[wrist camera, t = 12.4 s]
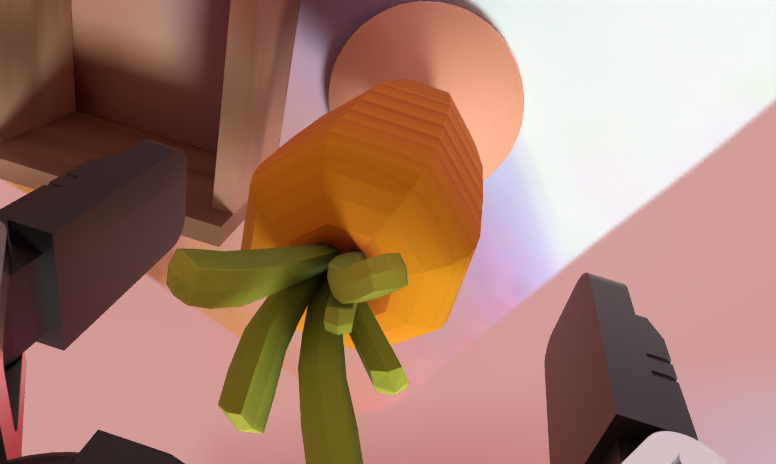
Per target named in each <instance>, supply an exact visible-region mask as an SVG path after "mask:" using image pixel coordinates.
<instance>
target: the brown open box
mask: <svg viewBox="0 0 776 464" xmlns="http://www.w3.org/2000/svg"><path fill="white" fill-rule="evenodd" d="M299 6H300V0H231V2H230V13H229V24H228V35H227V47H226V58H225V69H224V80H223V92H222V103H221V114H220V125H219V136H218V148H217V154H216V153H212V152H209V151H206V150H202V149H199V148H196V147H193V146H189V145H186V144H183V143H180V142H176V141H173V140H170V139H166V138H163V137H160V136H157V135H153V134H150V133H147V132H143V131H140V130H137V129H134V128H130V127H127V126H124V125H120V124H117V123H114V122H111V121H107V120H104V119H101V118H97V117H94V116H91V115H88V114H84V113H81V112H78V111H76V100H75V78H74V56H73V34H72V12H71V0H0V178H1V179H4V180H7V181H10V182H13V183H17V184H20V185H23V186H26V187H29V188H32V189H37V188H39V187H41V186H43V185H47V186H48V184H49V182H50V181H52V180H54V179H55V178H57V177H59V176H61V175H63V176H65V173H66V172H68V171H70V170H71V169H73V168H75V167H77V166H79V165H80V164H82V163H84V162H86V161H90V160H94V159H98V158H102V157H106V156H110V155H115V156H116V155H118V154H119V153H121V152H123V151H124V150H126V149H128V148H129V147H131V146H133V145H135V144H136V143H138V142H140V141H142V140H145V139H147V140H151V141H154V142H157V143H161V144H164V145H167V146H171V147H174V148H177V149H180V150H183V151H184V152H185V154H186V157H187V183H186V206H185V222H184V226H183V230H182V233H181V235H182V236H186V237H189V238H192V239H195V240H198V241H202V242H205V243H208V244H211V245H214V246H218V247H219V246H220V245H221V244H222V243H223V242H224V241H225V240H226V239H227V238H228V237H229V236H230V234H231V233H232V232H233V231H234V230H235V229H236V228H237V227H238V226H239V225H240V224H241V222H242V221H243V220H244V219H245V217H246V210H247V203H248V196H249V189H250V183H251V180H252V176H253V173H254V171H255V170H256V169H257V167H258V166H259V165H260V164H261V163H262V162H263V161H264V160H266V159H267V158H268V157H269V156H271V155H272V154H273V153H274V152H275V151H277V150H278V148H279V141H280V134H281V127H282V121H283V114H284V107H285V100H286V94H287V87H288V80H289V73H290V67H291V60H292V53H293V46H294V40H295V33H296V26H297V19H298V13H299Z"/></svg>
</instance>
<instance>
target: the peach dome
mask: <svg viewBox="0 0 776 464" xmlns="http://www.w3.org/2000/svg"><path fill="white" fill-rule="evenodd" d="M395 79H407V80H411V81H414V82H417V83H420V84H423V85H427V86H430V87H433V88H436V89H440V90H443V91H446V92H449V94H450V96H451V97H452V99H453V101H454V103H455V105H456V107H457V109H458V111H459V113H460V115H461V116H462V118H463V120H464V122H465V124H466V126H467V128H468V130H469V132H470V134H471V136H472V138H473V140H474V143H475V145H476V147H477V150H478V153H479V156H480V159H481V163H482V166H483V180H484V179H485V178H487V177H488V176H489V175H490V174H492V173H493V172H494V171H495V170H496V169H497V168H498V167H499V166H500V165H501V163H502V162H503V161H504V160H505V158H506V157H507V155H508V154H509V152H510V151H511V149H512V147H513V145H514V143H515V141H516V139H517V137H518V134H519V130H520V127H521V124H522V118H523V111H524V93H523V84H522V78H521V74H520V70H519V67H518V64H517V62H516V59H515V57H514V55H513V53H512V51H511V49H510V48H509V46H508V44H507V43H506V41H505V40H504V39H503V38H502V36H501V35H500V34H499V33H498V32H497V31H496V30H495V29H494V28H493V27H492V26H491V25H490V24H489V23H488V22H486V21H485V20H484V19H482V18H481V17H480V16H478V15H476V14H475V13H473V12H471V11H469V10H467V9H465V8H462V7H459V6H457V5H454V4H450V3H445V2H440V1H427V0H426V1H413V2H408V3H404V4H399V5H397V6H394V7H391V8H389V9H386V10H384V11H383V12H381V13H379V14H377V15H375V16H374V17H372V18H371V19H370V20H368V21H367V22H366V23H364V24H363V25H362V26H360V27H359V28H358V29H357V30H356V31H355V32H354V33H353V34H352V36H351V37H350V38H349V39H348V41H347V42H346V43H345V45H344V46H343V48H342V50H341V52H340V53H339V55H338V57H337V60H336V62H335V65H334V67H333V71H332V74H331V78H330V85H329V111H330V112H331V111H332V110H334V109H336V108H338V107H340V106H341V105H343V104H345V103H347V102H348V101H350V100H352V99H354V98H356V97H357V96H359V95H361V94H363V93H364V92H366V91H368V90H370V89H372V88H373V87H375V86H377V85H379V84H381V83H384V82H387V81H391V80H395Z"/></svg>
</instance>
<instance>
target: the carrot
mask: <svg viewBox="0 0 776 464" xmlns="http://www.w3.org/2000/svg"><path fill="white" fill-rule="evenodd" d="M482 203H483V166H482V163H481V159H480V156H479V153H478V150H477V147H476V145H475V143H474V140H473V138H472V136H471V134H470V132H469V130H468V128H467V126H466V124H465V122H464V120H463V118H462V116H461V115H460V113H459V111H458V109H457V107H456V105H455V103H454V101H453V99H452V97H451V96H450V94H449V92H446V91H443V90H440V89H436V88H433V87H430V86H427V85H423V84H420V83H417V82H414V81H411V80H407V79H395V80H391V81H387V82H384V83H381V84H379V85H377V86H375V87H373V88H372V89H370V90H368V91H366V92H364V93H363V94H361V95H359V96H357V97H356V98H354V99H352V100H350V101H348V102H347V103H345V104H343V105H341V106H340V107H338V108H336V109H334V110H332V111H331V112H329V113H327V114H325V115H324V116H322V117H321V118H319V119H318V120H316V121H315V122H314V123H312V124H311V125H309V126H308V127H307V128H305V129H304V130H302V131H301V132H299V133H298V134H297V135H295V136H294V137H293V138H291V139H290V140H289V141H288V142H287V143H285V144H284V145H283V146H282V147H280V148H279V149H278V150H277V151H275V152H274V153H273V154H272V155H271V156H269V157H268V158H267V159H266V160H264V161H263V162H262V163H261V164H260V165H259V166H258V167H257V169H256V170H255V171H254V173H253V176H252V180H251V183H250V189H249V196H248V203H247V210H246V217H245V224H244V231H243V239H242V246H241V250H238V251H213V250H201V249H176V251H175V253H174V255H173V257H172V259H171V261H170V263H169V265H168V274H167V285H168V287H169V288H170V290H171V292H172V293H173V295H174V296H175V297H177V298H178V299H179V300H181V301H182V302H184V303H185V304H186V305H189V306H196V307H203V308H209V309H215V308H227V307H239V306H244V305H247V304H249V303H252V302H254V301H257V300H259V299H262V298H264V297H266V298H267V299H266V300H265V301H264V303H263V304H262V306H261V307H260V308H259V310H258V311H257V313H256V314H255V315H254V317H253V318H252V319H251V321H250V322H249V324H248V325H247V326H246V328H245V330H244V332H243V335H242V337H241V339H240V342H239V345H238V347H237V349H236V352H235V354H234V357H233V359H232V362H231V364H230V366H229V369H228V373H227V376H226V380H225V383H224V386H223V390H222V394H221V396H220V400H219V404H218V405H219V407H220V408H221V409H222V411H223V412H224V413H225V415H226V416H227V417H228V419H229V420H230V421H231V422H232V424H233V425H234V426H235V428H236V429H237V430H239V431H245V432H251V433H264V430H265V426H266V423H267V419H268V416H269V413H270V409H271V406H272V402H273V399H274V395H275V391H276V387H277V383H278V380H279V376H280V372H281V368H282V364H283V360H284V356H285V352H286V349H287V347H288V345H289V343H290V341H291V338H292V336H293V334H294V332H295V330H299V331H302V332H303V334H302V342H301V350H300V358H299V366H298V372H299V392H300V411H301V428H302V436H303V443H304V451H305V458H306V464H363V460H362V453H361V447H360V441H359V434H358V428H357V423H356V419H355V414H354V410H353V405H352V401H351V396H350V392H349V387H348V383H347V378H346V368H345V355H344V346H346V347H349V348H352V349H355V350H357V352H358V354H359V356H360V358H361V360H362V363H363V365H364V367H365V369H366V371H367V373H368V375H369V377H370V379H371V382H372V384H373V386H374V388H375V390H376V392H381V393H386V394H390V395H395V394H397V393H399V392H401V391H403V390H405V389H406V388H407V386H408V380H407V377H406V375H405V373H404V371H403V368H402V366H401V364H400V363H399V361H398V359H397V357H396V355H395V353H394V351H393V349H392V348H391V346H390V345H393V344H396V343H399V342H402V341H405V340H408V339H411V338H414V337H417V336H420V335H423V334H425V333H428V332H431V331H434V330H437V329H440V328H441V327H442V326H443V325H444V324H445V322H446V321H447V320H448V317H449V315H450V312H451V310H452V307H453V305H454V302H455V299H456V297H457V294H458V292H459V289H460V287H461V284H462V282H463V279H464V277H465V274H466V271H467V269H468V266H469V264H470V261H471V259H472V256H473V254H474V251H475V248H476V246H477V243H478V240H479V237H480V230H481V216H482Z"/></svg>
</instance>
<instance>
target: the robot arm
mask: <svg viewBox="0 0 776 464" xmlns="http://www.w3.org/2000/svg"><path fill="white" fill-rule="evenodd" d="M186 183H187V157H186V154H185V152H184V151H183V150H180V149H177V148H174V147H171V146H167V145H164V144H161V143H157V142H154V141H151V140H147V139H145V140H142V141H140V142H138V143H136V144H135V145H133V146H131V147H129V148H128V149H126V150H124V151H123V152H121V153H119V154H118V155H116V156H115V155H110V156H106V157H102V158H98V159H94V160H90V161H86V162H84V163H82V164H80V165H79V166H77V167H75V168H73V169H71V170H70V171H68V172H66V173H65V176H63V175H61V176H59V177H57V178H55V179H54V180H52V181H50V182H49V184H48V186H47V185H43V186H41V187H39V188H37V189H36V190H34V191H32V192H30V193H29V194H27V195H25V196H23V197H21V198H20V199H18V200H16V201H14V202H12V203H11V204H9V205H7V206H5V207H4V208H2V209H0V464H185V463H183V462H181V461H180V460H179V459H177V458H176V457H174V456H173V455H171V454H169V453H166V452H163V451H160V450H157V449H154V448H151V447H148V446H145V445H142V444H139V443H136V442H133V441H130V440H127V439H124V438H121V437H118V436H115V435H113V434H109V433H107V432H104V431H100V430H98V431H97V432H96V433H95V434H94V435H93V437H92V438H91V439H90V440H89V441H88V443H87V444H86V445H85V446H84V448H83V449H82V450H81V451H80V452H52V453H44V454H35V455H28V456H24V457H22V434H23V415H24V398H25V380H26V357H25V351H26V350H27V349H28V348H29V347H30V346H31V345H32V344H33V343H35V342H40V343H43V344H45V345H49V346H52V347H55V348H58V349H61V350H65V349H66V348H67V347H68V346H69V345H70V344H71V343H73V341H75V340H76V339H77V338H78V337H79V336H80V335H81V334H82V333H83V332H84V331H85V330H86V329H87V328H88V327H89V326H90V325H92V324H93V323H94V322H95V321H96V320H97V319H98V318H99V317H100V316H101V315H102V314H103V313H104V312H105V311H106V310H107V309H108V308H109V307H110V306H112V305H113V304H114V303H115V302H116V301H117V300H118V299H119V298H120V297H121V296H122V295H123V294H124V293H125V292H126V291H127V290H128V289H129V288H131V286H133V285H134V284H135V283H136V282H137V281H138V280H139V279H140V278H141V277H142V276H143V275H144V274H145V273H146V272H147V271H149V270H150V269H151V268H152V267H153V266H154V265H155V264H156V263H157V262H158V261H159V260H160V259H161V258H162V257H163V256H164V255H165V254H166V253H168V252H169V251H170V250H171V249H172V248H173V247H174V245H175V244H176V243H177V241H178V239H179V237H180V235H181V233H182V230H183V226H184V222H185V206H186ZM670 362H671V359H670V356H669V353H668V350H667V347H666V344H665V341H664V339H663V338H662V337H661V335H660V334H659V333H658V332H657V330H656V329H655V328H654V327H653V325H652V324H651V323H650V322H649V321H648V319H647V318H644V317H641V316H638V315H635V312H634V309H633V305H632V302H631V298H630V295H629V292H628V288H627V286H626V285H625V284H622V283H619V282H615V281H612V280H609V279H605V278H602V277H599V276H595V275H592V274H589V273H584V274H583V275H582V276H581V277H580V279H579V280H578V282H577V284H576V286H575V288H574V290H573V292H572V294H571V296H570V298H569V300H568V302H567V304H566V306H565V308H564V310H563V312H562V314H561V316H560V318H559V320H558V322H557V324H556V326H555V328H554V330H553V332H552V335H551V337H550V340H549V343H548V346H547V350H546V355H545V381H546V397H547V398H546V399H547V417H548V434H549V450H550V451H549V454H550V464H728V463H727V462H726V461H725V460H724V459H723V458H722V457H721V456H720V455H718V454H717V453H716V452H715V451H713V450H712V449H711V448H709V447H708V446H706V445H705V444H703V443H701V442H699V441H698V438H697V435H696V432H695V429H694V426H693V423H692V420H691V418H690V415H689V412H688V409H687V406H686V403H685V400H684V397H683V394H682V391H681V388H680V385H679V383H677V382H676V380H677V377H676V373H675V371H674V368H673V365H671V364H670Z"/></svg>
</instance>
